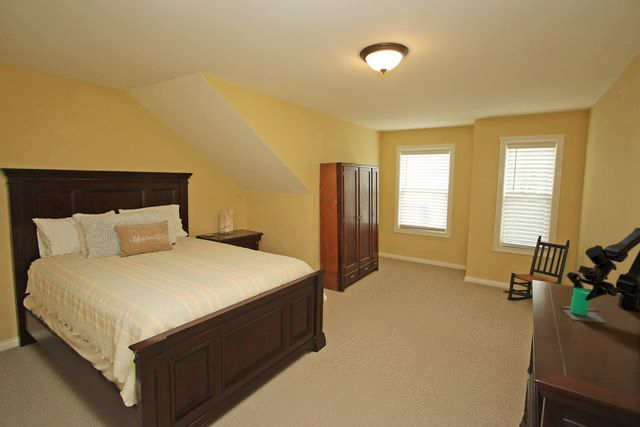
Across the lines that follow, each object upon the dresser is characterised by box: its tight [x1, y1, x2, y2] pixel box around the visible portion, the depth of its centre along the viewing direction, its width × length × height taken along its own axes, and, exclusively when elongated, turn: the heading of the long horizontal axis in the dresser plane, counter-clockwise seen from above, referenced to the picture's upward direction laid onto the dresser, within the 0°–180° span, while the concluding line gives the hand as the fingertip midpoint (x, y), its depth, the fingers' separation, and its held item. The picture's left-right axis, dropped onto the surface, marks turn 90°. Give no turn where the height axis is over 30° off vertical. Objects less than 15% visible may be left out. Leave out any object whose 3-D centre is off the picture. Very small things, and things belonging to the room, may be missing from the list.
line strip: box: [561, 305, 599, 312], centre depth 154 cm, size 14×2×1 cm, turn 73°
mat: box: [562, 309, 607, 324], centre depth 146 cm, size 12×10×1 cm
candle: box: [569, 287, 591, 315], centre depth 147 cm, size 6×6×12 cm
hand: (579, 297), depth 146 cm, fingers closed on candle, 5 cm apart
